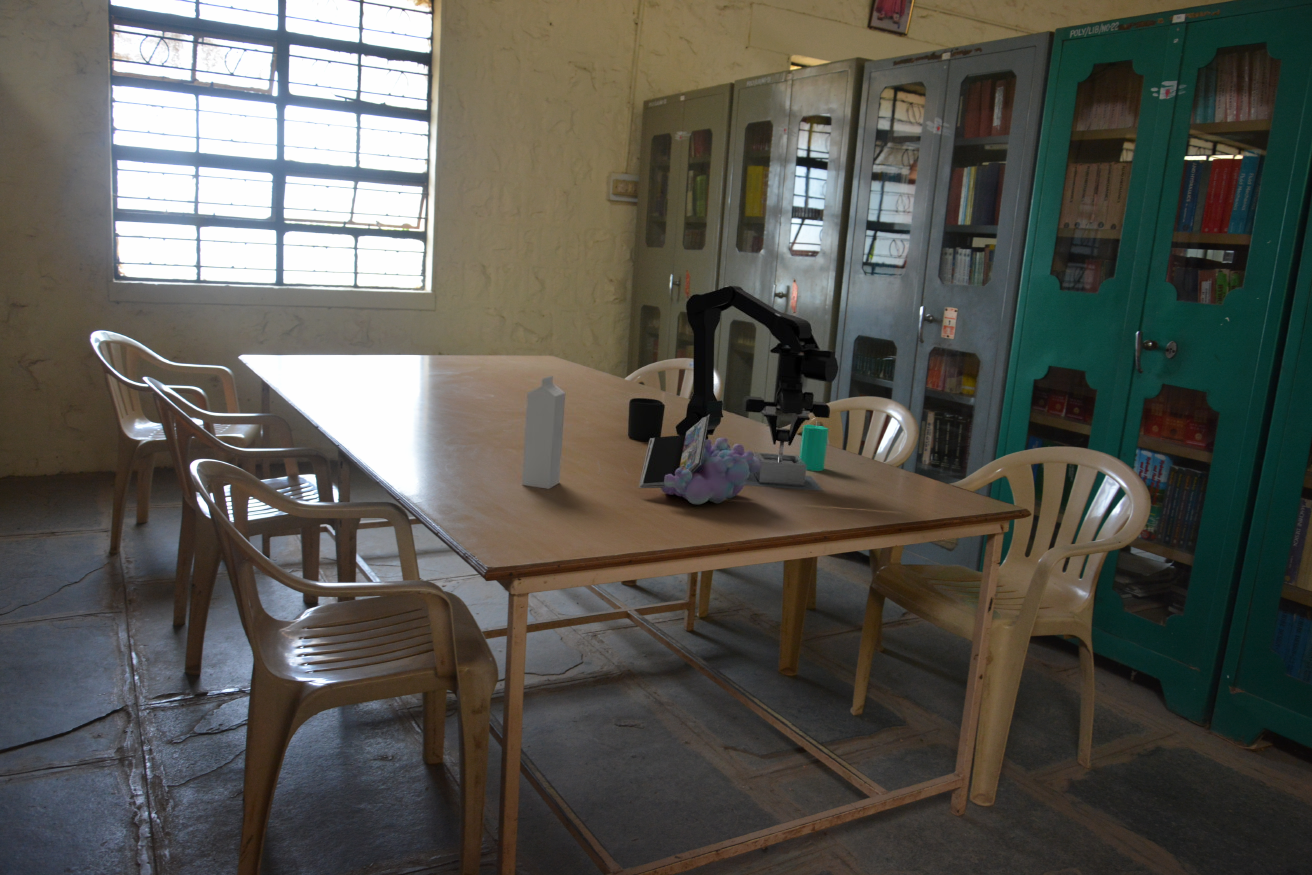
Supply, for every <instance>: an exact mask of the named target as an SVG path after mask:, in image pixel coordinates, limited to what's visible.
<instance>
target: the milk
mask: <svg viewBox="0 0 1312 875" xmlns="http://www.w3.org/2000/svg"><path fill="white" fill-rule="evenodd" d="M553 380H554V376H553V375H550V376H547V377H542V380H541V385H540V386H539V387H537V388H535V389H533V390H531V391H529V392H527V395H526V408H525V410H526V412H525V413H526V414H525V427H524V439H523V440H524V441H523V442H524V444H523V458H522V460H523V461H522V474H521V475H522V476H521V479H522V480H521V486H528V487H533V488H540V489H547V490H549V489H551V488H553V487H554V486H556V485H558V484H559V483H560V478H561V477H560V476H561V461H562V460H561V459H562V450H563V448H562V447H563V435H564V434H563V433H564V432H563V431H564V418H565V404H566V403H565V402H566V392H565V391H564V390H562V389H561V388H560V387H559V386H557V385H556V384H555V383H554V381H553Z"/></svg>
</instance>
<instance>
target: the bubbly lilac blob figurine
mask: <svg viewBox="0 0 1312 875" xmlns="http://www.w3.org/2000/svg"><path fill="white" fill-rule="evenodd" d="M709 417H710V414H709V415H708V416H707V417H704V418H702V419H701V420H700V421H699V422H698V423H697V424H696V425H694V426H693V427H692V428H691V429H689V430H688V431H687V433H686V436H683V435H670V436H668V435H667V436H661V437H655V438H650V441H648V446H647V450H646V453H645V459H644V463H643V468H642V471H641V475H640V480H639V484H638V489H659V488H660V491H662V492H663V493H664V494H667V495H669V496H672V495H676V496H677V497H683V498H684V499H685V500H687V501H688V502H689V503H691V504H692V505H702V504H705V503H706V502H708V501H709V502H712V503H714V504H720V503H722V502H723V501H725V499H731V498H734V497H735V496H737V495H739V493H741V492H742V490H743V489H744V487H746V485H745V483H746V482H745V480H746V479H747V478H748V477H749V475H750V473H755V472H757V471H758V470H760V468H761V467H762V463H761V461H760V460H759V459H758V458H756V457H754V456H755V452H752V451H751V450H746V451H745V448H744V446H743V445H742V444H741V443H735V444H733V446H732V448H731V446H730V444H729V443H728V439H729V438H727V437H718V438H716V440H715V443H714V444H712V440H710V439H709V438H708V439H707V440H706V434H707V428H708V423H709Z"/></svg>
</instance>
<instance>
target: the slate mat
mask: <svg viewBox="0 0 1312 875" xmlns="http://www.w3.org/2000/svg"><path fill="white" fill-rule="evenodd" d="M745 482H746V483H745V486H748V487H749V486H750V487H751V486H752V487H765V488H778V489H779V488H780V489H790V490H791V489H792V490H807V491H819V492H820V491H822V492H824V491H825V490H824V489H823V488H822V487H821V486H820V485H819V484H818V482H817V481H816V480H815V479H814V477H812V476H811V475H806V474H805V483H804V487H795V486H781V485H767V484H759V483H758V481H757V480H756V478H755V476H754V475H753V473H750V475H749V477H748V478H747V479H746V480H745Z"/></svg>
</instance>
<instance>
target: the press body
mask: <svg viewBox="0 0 1312 875" xmlns="http://www.w3.org/2000/svg"><path fill="white" fill-rule="evenodd" d="M778 456H779V453H769V452H768V453H767V452H757V451H756V452H754V457H756V458H758V459H759V460H760V461H761V463H762V467H761V468H760V470H758V471H757V472H755V473H753V475H754V476H755V478H756V480H757V481H758V483H759V484H767V485H781V486H795V487H804V483H805V475H806V473H807V470H806V466H807V465H806V464H805V463H804V462H803V461H802V460H801V458H800V455H797V454H796V455H795V454H784V453H783V456H782V460H786V461H792V462H793V463H783V462H770V461H765V460H764V459H773V460H778Z"/></svg>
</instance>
